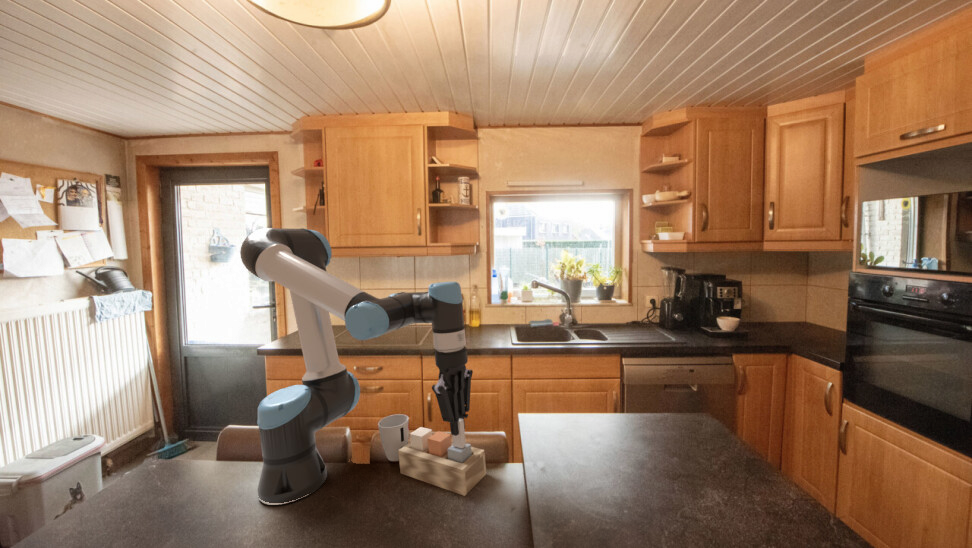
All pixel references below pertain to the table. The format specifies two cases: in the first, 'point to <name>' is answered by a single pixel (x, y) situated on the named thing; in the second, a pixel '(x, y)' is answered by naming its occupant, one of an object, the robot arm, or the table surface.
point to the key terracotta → (439, 444)
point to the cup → (394, 434)
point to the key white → (420, 439)
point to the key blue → (459, 453)
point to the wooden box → (443, 469)
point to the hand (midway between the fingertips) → (459, 445)
